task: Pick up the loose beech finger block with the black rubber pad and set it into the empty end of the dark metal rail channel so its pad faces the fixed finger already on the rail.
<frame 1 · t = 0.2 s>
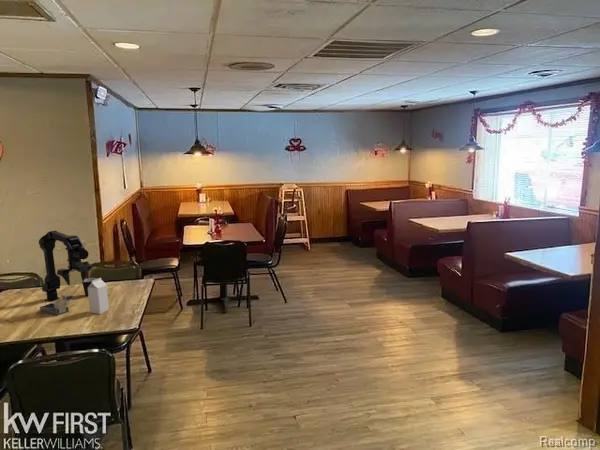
hand: (76, 283, 271), 14 cm above the table, fingers open, 9 cm apart
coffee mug: (92, 294, 295), on the table
rail: (54, 311, 264), on the table
finger block: (67, 304, 277), on the table
milk carton: (99, 311, 262), on the table
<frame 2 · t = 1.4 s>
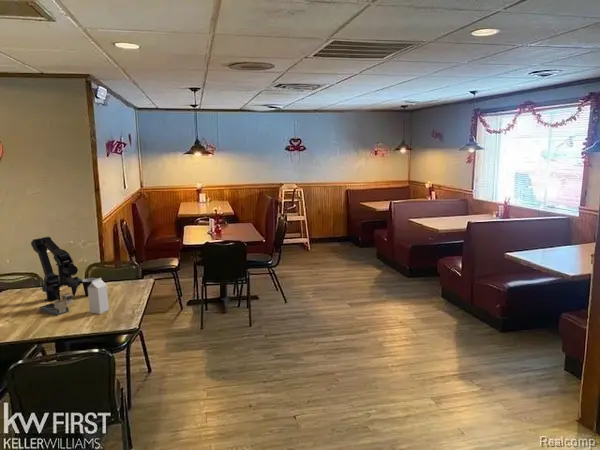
hand: (66, 298, 276), 4 cm above the table, fingers open, 9 cm apart
nothing on the table moved.
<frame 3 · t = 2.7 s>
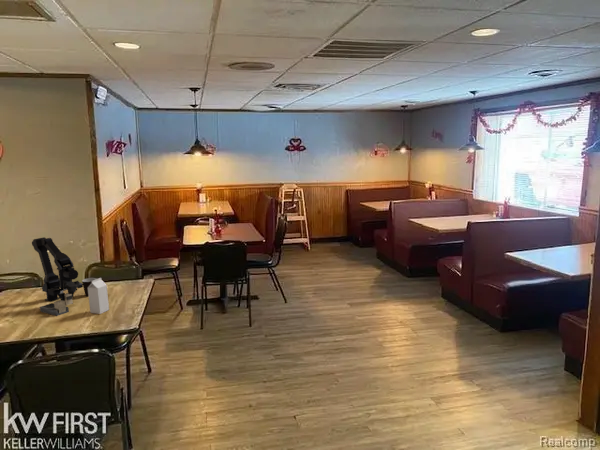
hand: (67, 302, 277), 1 cm above the table, fingers closed on finger block, 4 cm apart
finger block: (67, 303, 277), on the table, touching gripper
everything else where it was.
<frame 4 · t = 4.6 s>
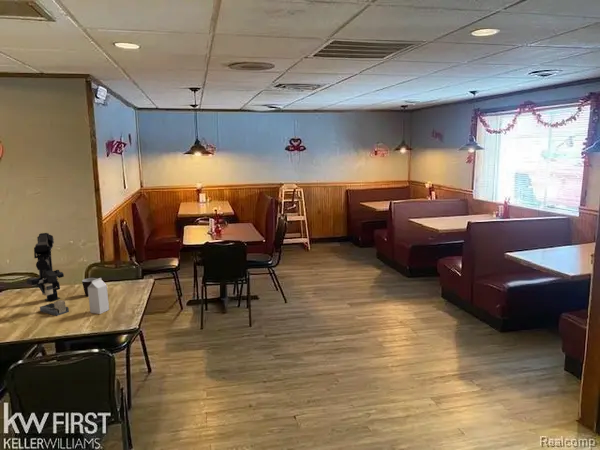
hand: (47, 292, 264), 11 cm above the table, fingers closed on finger block, 4 cm apart
finger block: (47, 294, 265), point 10 cm above the table, touching gripper
everything else where it was.
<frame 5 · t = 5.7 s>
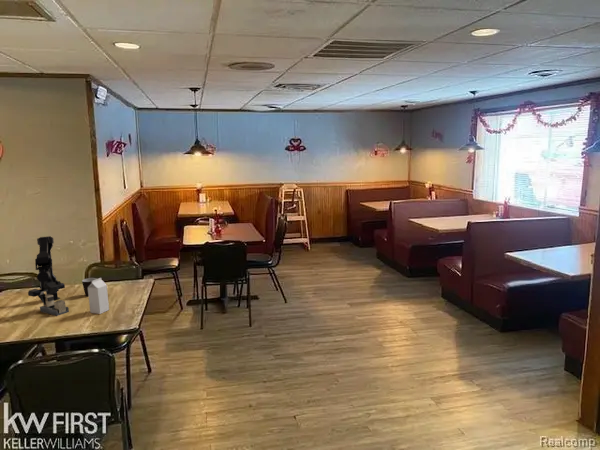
hand: (48, 303, 266), 4 cm above the table, fingers closed on finger block, 4 cm apart
finger block: (48, 305, 266), point 3 cm above the table, touching gripper
everything else where it was.
when the fingers open (3 cm above the table, at t = 6.6 s): finger block drops 1 cm, resting on rail.
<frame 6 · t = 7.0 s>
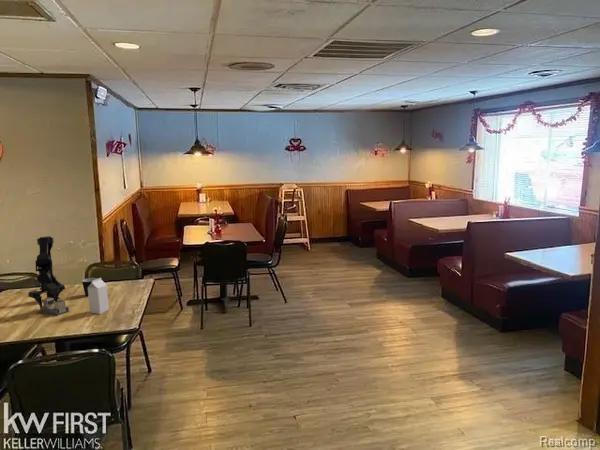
hand: (48, 304, 266), 3 cm above the table, fingers open, 8 cm apart
finger block: (49, 308, 266), point 1 cm above the table, touching rail
everything else where it was.
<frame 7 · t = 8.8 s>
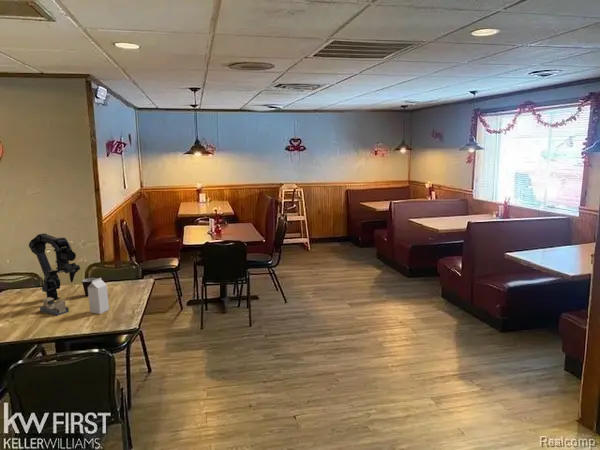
hand: (64, 284, 276), 12 cm above the table, fingers open, 9 cm apart
nothing on the table moved.
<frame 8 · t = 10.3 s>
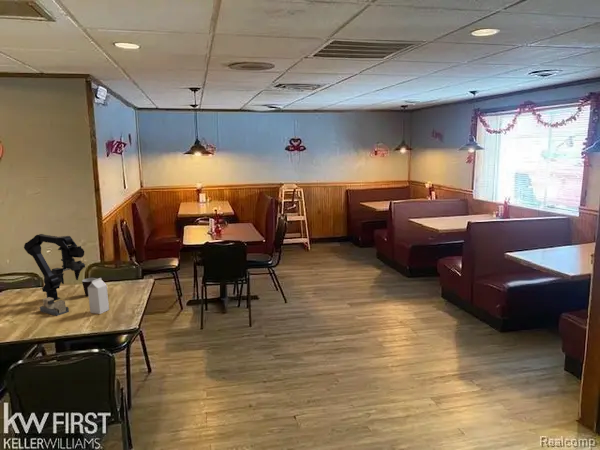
hand: (70, 281, 281), 12 cm above the table, fingers open, 9 cm apart
nothing on the table moved.
at the end: finger block 0.2 cm from the target spot on the rail, point 1.1 cm above the rail's base; finger block tilted 0°; the gripper is holding nothing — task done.
